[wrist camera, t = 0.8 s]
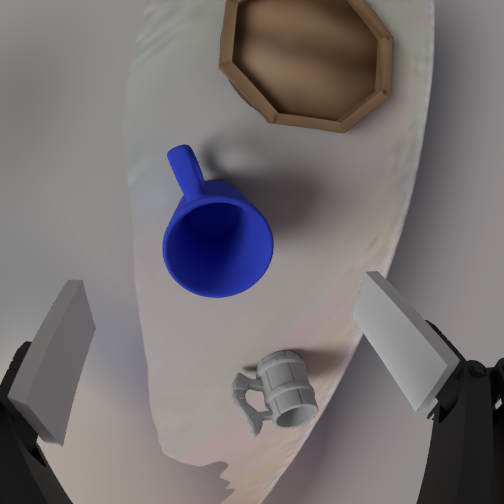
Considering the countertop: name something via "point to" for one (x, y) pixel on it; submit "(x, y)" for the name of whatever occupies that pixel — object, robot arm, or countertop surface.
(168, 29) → the countertop surface
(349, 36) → the octagonal wooden tray
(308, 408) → the mug
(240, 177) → the countertop surface
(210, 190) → the mug
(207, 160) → the countertop surface
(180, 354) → the countertop surface
